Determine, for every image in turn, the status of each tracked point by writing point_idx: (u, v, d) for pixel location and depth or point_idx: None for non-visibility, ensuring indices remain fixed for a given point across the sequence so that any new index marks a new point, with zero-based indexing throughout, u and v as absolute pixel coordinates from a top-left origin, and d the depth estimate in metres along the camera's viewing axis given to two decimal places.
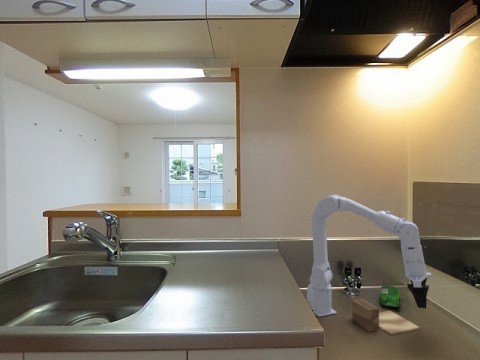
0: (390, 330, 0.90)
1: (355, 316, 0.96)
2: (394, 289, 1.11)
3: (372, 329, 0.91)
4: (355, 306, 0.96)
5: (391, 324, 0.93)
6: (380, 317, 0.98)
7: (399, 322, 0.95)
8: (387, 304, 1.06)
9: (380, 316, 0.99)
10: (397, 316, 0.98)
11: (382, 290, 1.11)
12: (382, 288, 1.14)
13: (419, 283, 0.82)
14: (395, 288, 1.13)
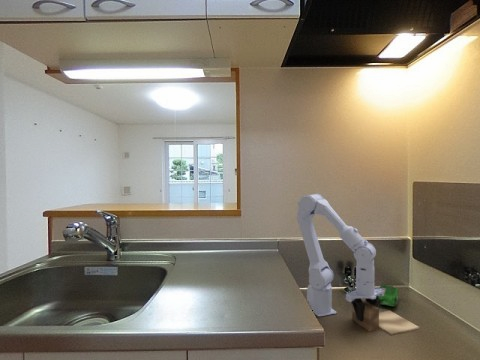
0: (390, 330, 0.90)
1: (355, 316, 0.96)
2: (391, 289, 1.12)
3: (372, 329, 0.91)
4: None
5: (391, 324, 0.93)
6: (380, 317, 0.98)
7: (399, 322, 0.95)
8: (383, 303, 1.07)
9: (380, 316, 0.99)
10: (397, 316, 0.98)
11: None
12: (380, 287, 1.14)
13: (349, 298, 0.92)
14: (393, 288, 1.13)
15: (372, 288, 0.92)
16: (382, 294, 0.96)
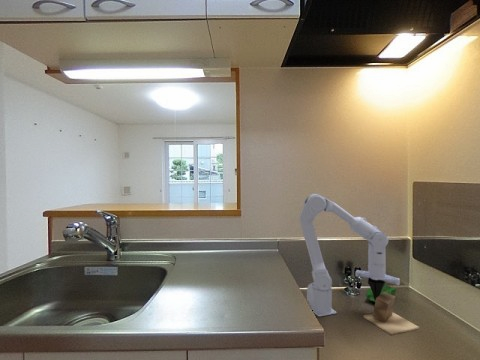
0: (390, 330, 0.90)
1: None
2: (385, 288, 1.13)
3: (376, 316, 0.96)
4: None
5: (391, 324, 0.93)
6: None
7: (399, 322, 0.95)
8: (371, 299, 1.10)
9: None
10: (397, 316, 0.98)
11: None
12: None
13: None
14: (389, 287, 1.14)
15: (376, 270, 0.99)
16: (396, 283, 0.96)
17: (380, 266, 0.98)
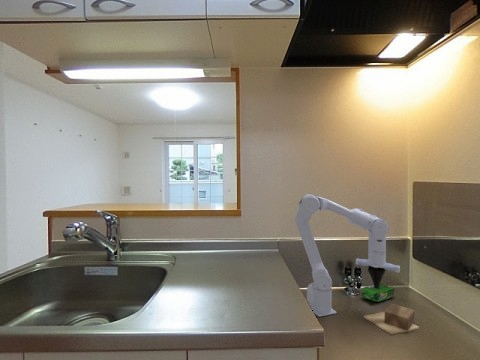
0: (390, 330, 0.90)
1: (396, 306, 0.98)
2: (382, 287, 1.14)
3: (386, 315, 0.94)
4: (407, 310, 0.95)
5: None
6: (380, 317, 0.98)
7: None
8: (366, 297, 1.13)
9: (380, 316, 0.99)
10: None
11: (370, 285, 1.17)
12: None
13: None
14: (386, 286, 1.14)
15: (376, 258, 0.99)
16: (396, 270, 0.96)
17: (380, 254, 0.98)
